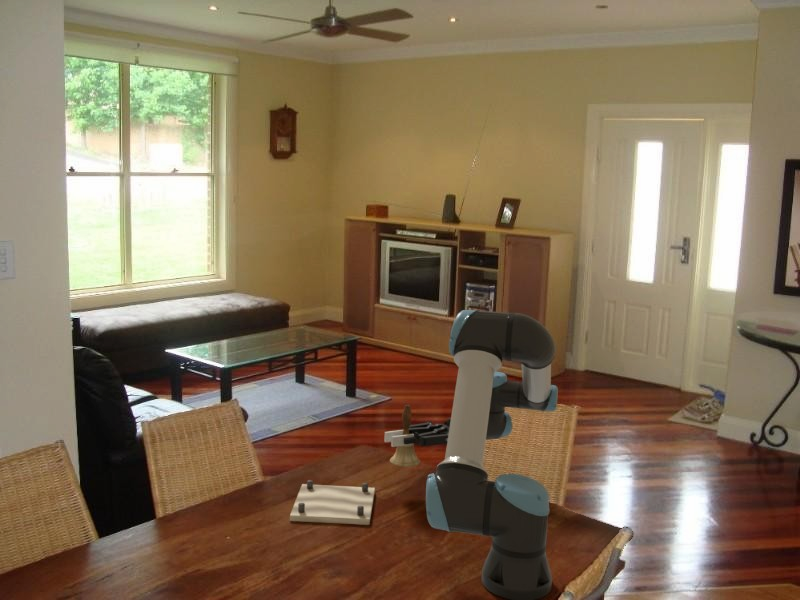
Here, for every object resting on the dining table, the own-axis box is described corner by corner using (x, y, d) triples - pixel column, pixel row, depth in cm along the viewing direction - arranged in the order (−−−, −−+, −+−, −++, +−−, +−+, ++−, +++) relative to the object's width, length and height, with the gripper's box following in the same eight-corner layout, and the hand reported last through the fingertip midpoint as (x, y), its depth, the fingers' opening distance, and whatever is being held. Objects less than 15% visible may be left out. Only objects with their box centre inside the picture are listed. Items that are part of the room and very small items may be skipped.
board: (369, 524, 203) (369, 511, 202) (289, 520, 204) (290, 507, 203) (374, 492, 223) (374, 480, 222) (302, 489, 223) (302, 477, 223)
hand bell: (386, 457, 225) (388, 401, 223) (414, 455, 228) (416, 400, 225) (394, 468, 217) (397, 410, 215) (424, 466, 220) (426, 409, 217)
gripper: (477, 451, 223) (402, 462, 212) (446, 433, 237) (374, 443, 226) (478, 425, 222) (403, 435, 211) (447, 409, 236) (375, 417, 225)
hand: (388, 439), depth 219 cm, fingers closed on hand bell, 3 cm apart
